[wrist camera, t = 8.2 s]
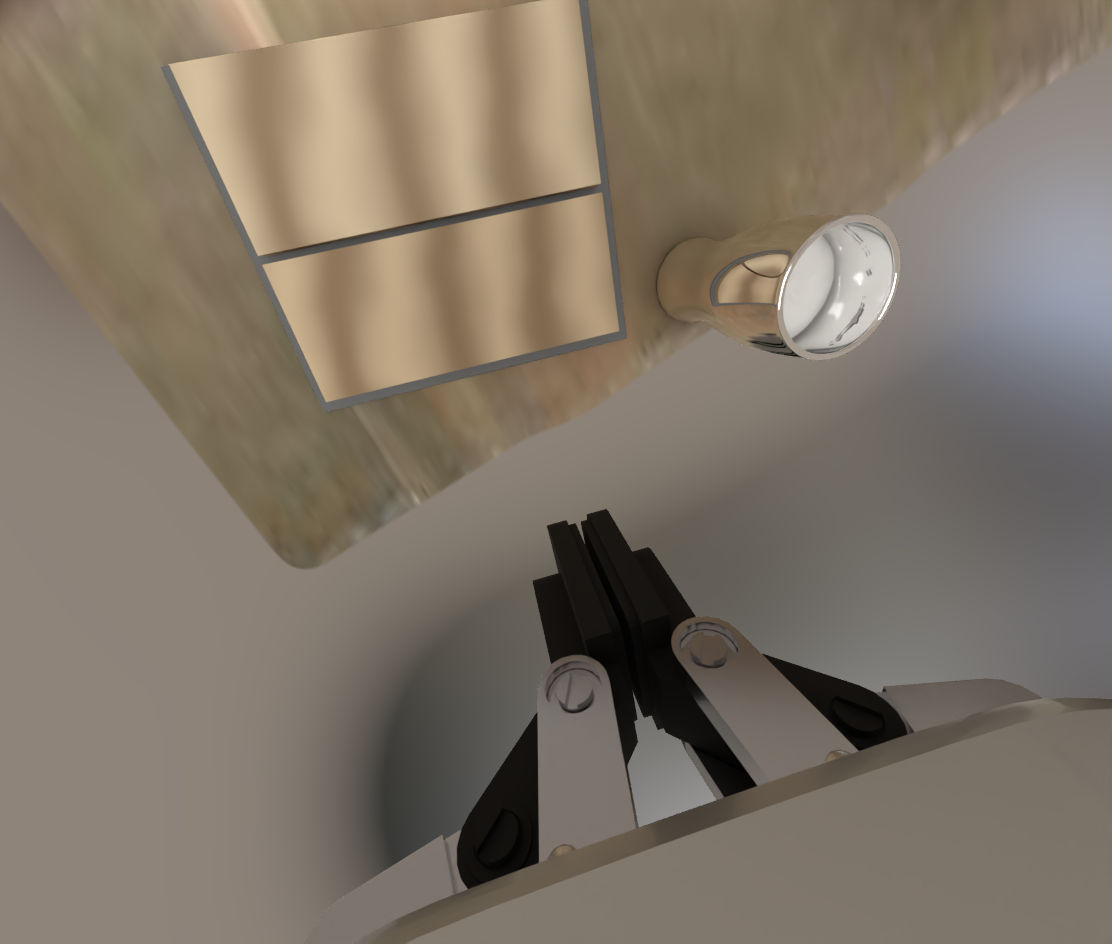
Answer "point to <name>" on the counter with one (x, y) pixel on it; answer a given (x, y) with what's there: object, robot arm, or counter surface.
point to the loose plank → (450, 296)
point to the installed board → (398, 123)
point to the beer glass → (788, 283)
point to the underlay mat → (461, 373)
